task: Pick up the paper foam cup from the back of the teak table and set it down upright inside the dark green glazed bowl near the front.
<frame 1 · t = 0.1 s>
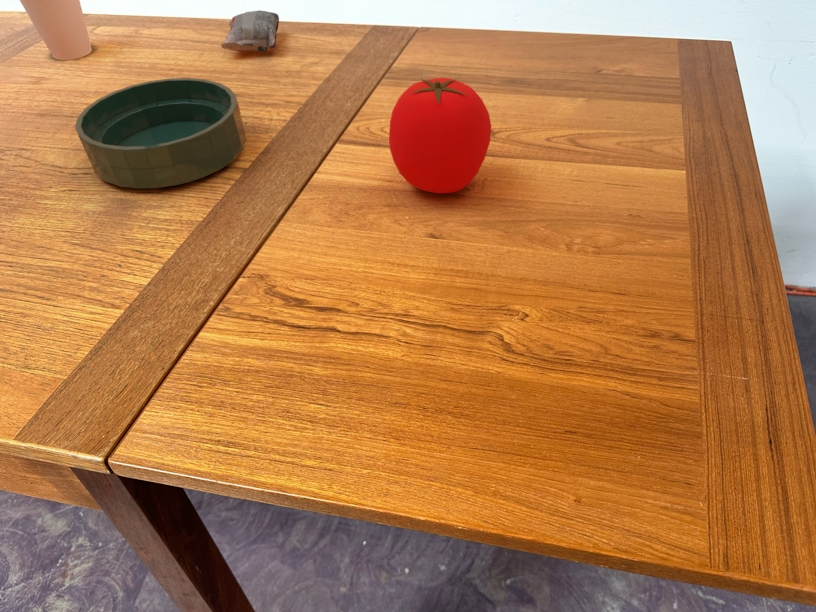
packaged food: (253, 47, 113), on the table
tomato: (443, 183, 81), on the table
foam cup: (73, 53, 113), on the table
bowl: (173, 153, 88), on the table
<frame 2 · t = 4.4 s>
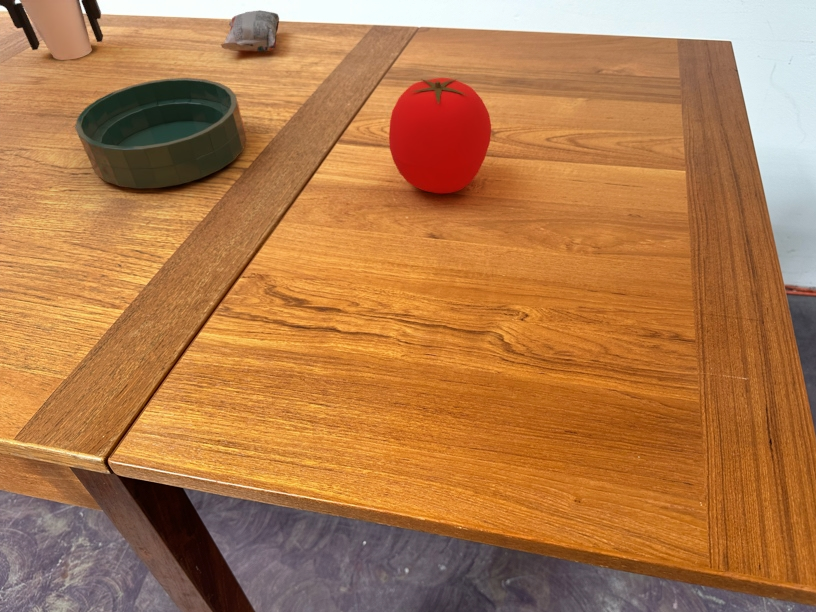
hand: (68, 42, 112), 2 cm above the table, tool pointing down, fingers closed on foam cup, 9 cm apart
foam cup: (72, 53, 113), on the table, touching gripper
everything else where it was.
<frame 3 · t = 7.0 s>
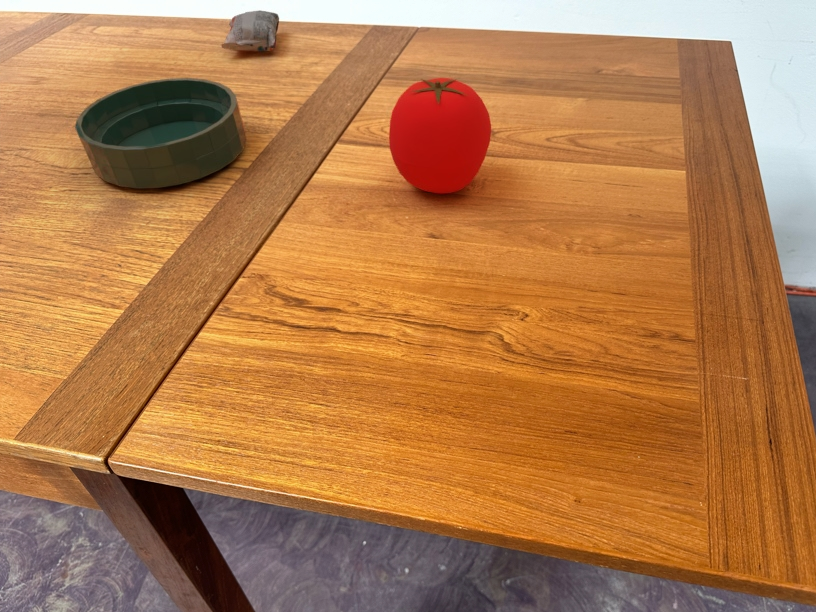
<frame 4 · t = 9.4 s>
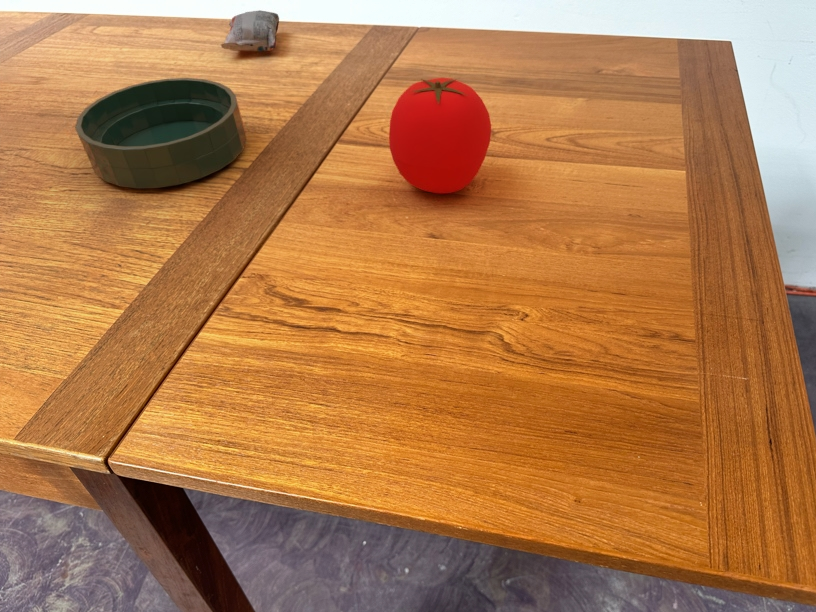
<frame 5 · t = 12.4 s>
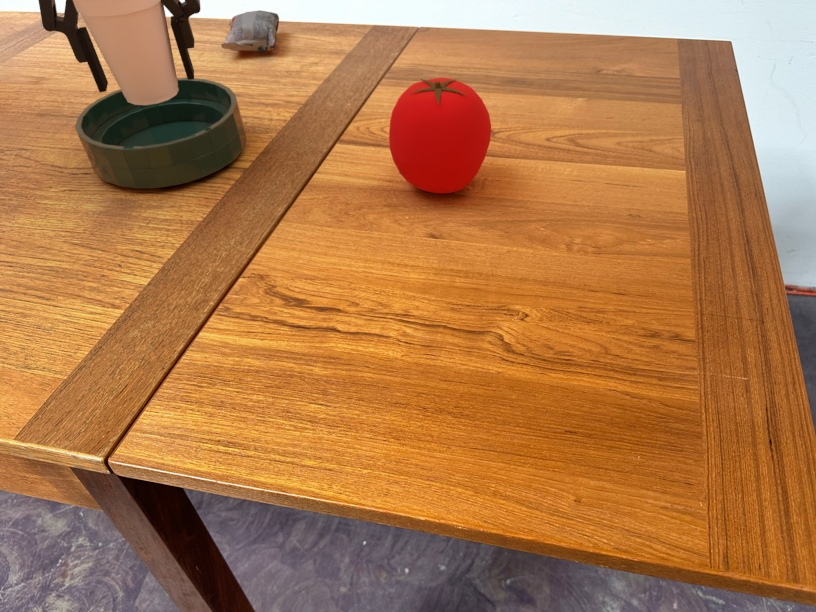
hand: (147, 81, 81), 10 cm above the table, tool pointing down, fingers closed on foam cup, 9 cm apart
foam cup: (152, 95, 82), point 8 cm above the table, touching gripper
everything else where it was.
when the fingers open (2 cm above the table, at t = 14.6 s): foam cup stays where it is, resting on bowl.
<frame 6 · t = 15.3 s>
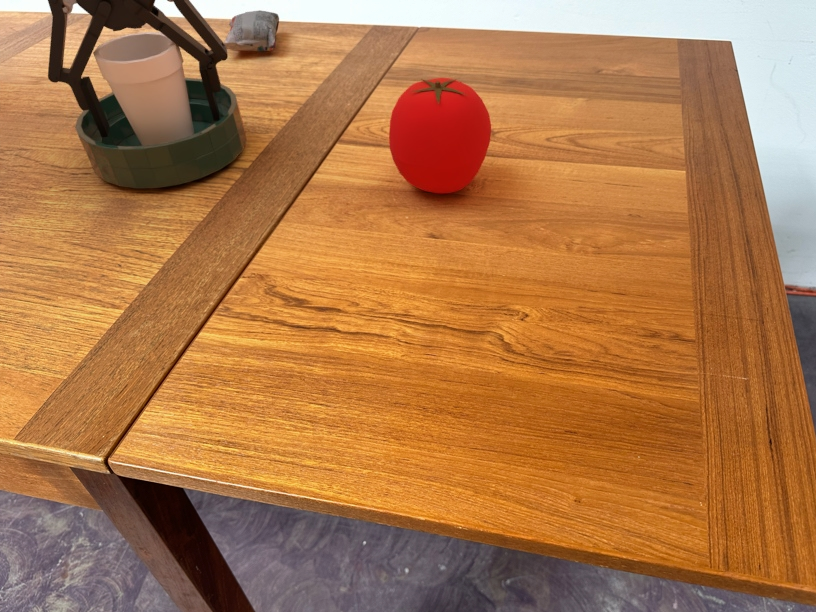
hand: (162, 124, 85), 4 cm above the table, tool pointing down, fingers open, 13 cm apart
foam cup: (171, 149, 87), point 1 cm above the table, touching bowl
everything else where it was.
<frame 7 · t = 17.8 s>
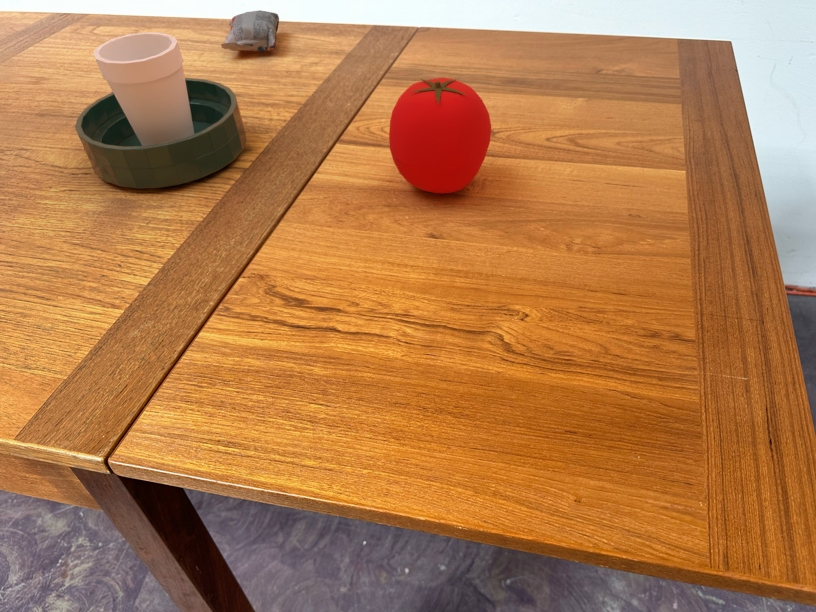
nothing on the table moved.
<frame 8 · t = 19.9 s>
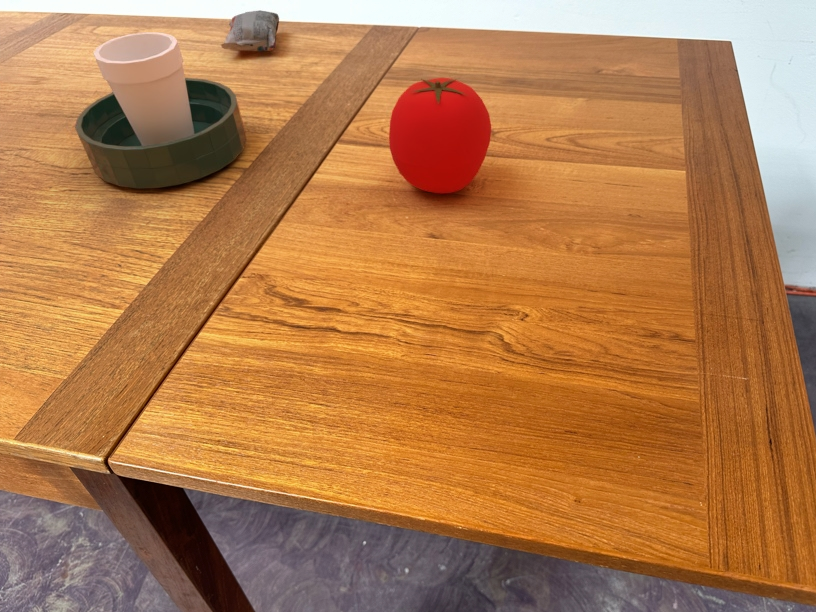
nothing on the table moved.
at the end: foam cup inside the target area in the bowl (0.0 cm from its centre), point 0.6 cm above the bowl's base; foam cup tilted 0°; the gripper is holding nothing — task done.
